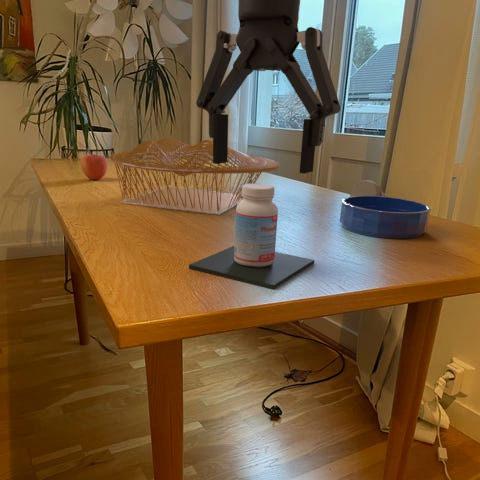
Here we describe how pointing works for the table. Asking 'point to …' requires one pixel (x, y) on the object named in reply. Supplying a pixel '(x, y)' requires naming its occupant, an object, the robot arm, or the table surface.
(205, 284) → the table surface
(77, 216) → the table surface
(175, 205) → the basket
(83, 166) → the apple
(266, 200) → the pill bottle
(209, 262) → the mat
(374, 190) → the mug
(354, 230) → the bowl
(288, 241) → the table surface
